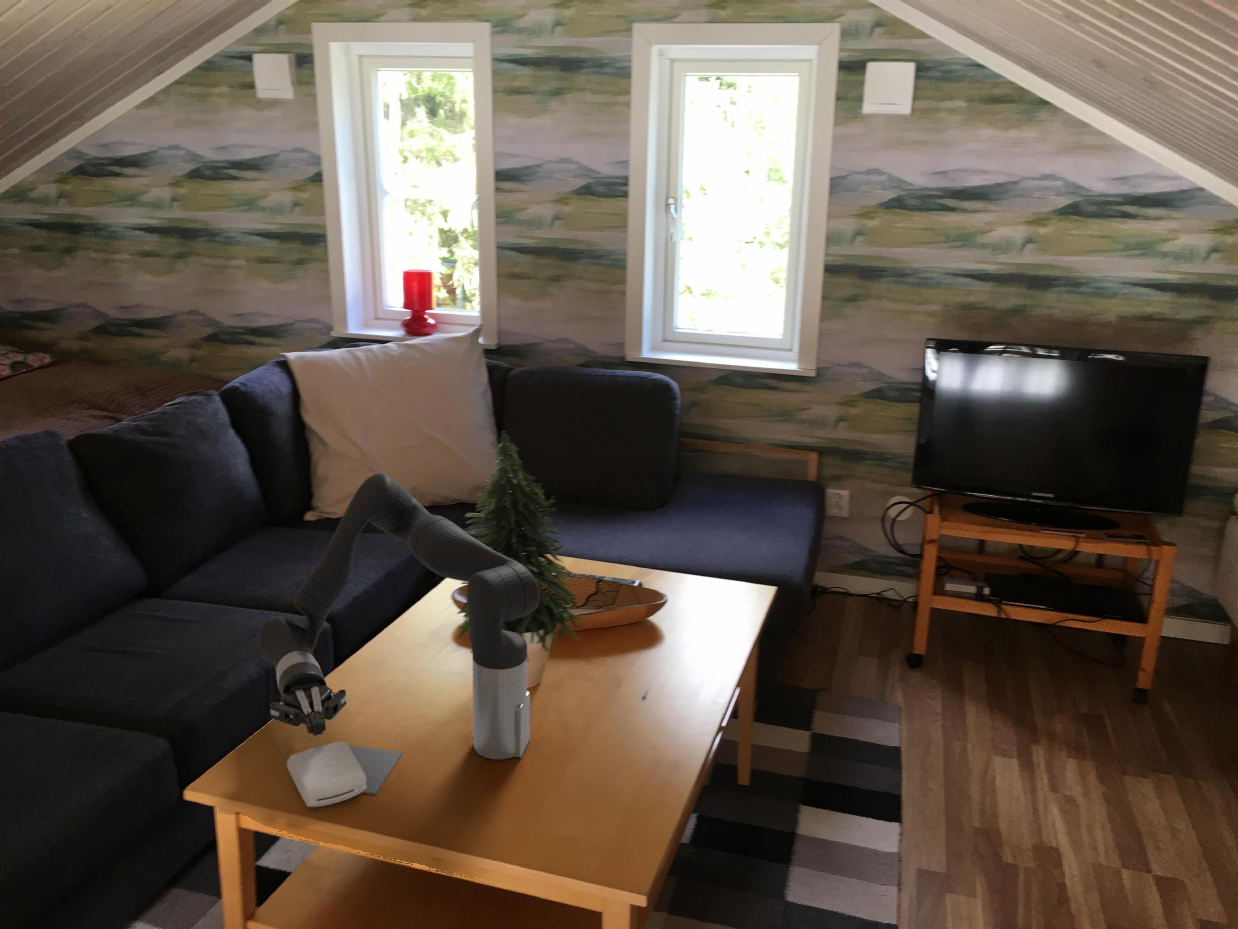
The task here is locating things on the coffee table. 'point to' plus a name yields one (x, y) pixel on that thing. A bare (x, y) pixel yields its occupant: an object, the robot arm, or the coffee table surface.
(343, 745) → the photo printer
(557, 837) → the coffee table surface
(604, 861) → the coffee table surface
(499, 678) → the robot arm
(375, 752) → the mat
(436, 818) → the coffee table surface
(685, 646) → the coffee table surface
